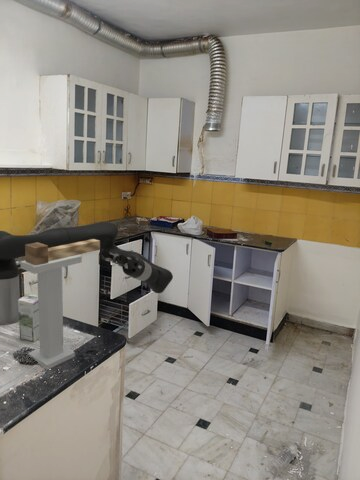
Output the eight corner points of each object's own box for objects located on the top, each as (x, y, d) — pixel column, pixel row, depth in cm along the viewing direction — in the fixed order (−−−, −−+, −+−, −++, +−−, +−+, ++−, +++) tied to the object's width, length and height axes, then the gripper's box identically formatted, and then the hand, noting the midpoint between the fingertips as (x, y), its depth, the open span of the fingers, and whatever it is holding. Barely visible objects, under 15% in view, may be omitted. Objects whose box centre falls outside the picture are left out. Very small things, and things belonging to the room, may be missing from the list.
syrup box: (44, 334, 133) (43, 295, 129) (33, 342, 127) (32, 302, 124) (30, 331, 134) (28, 293, 131) (19, 339, 129) (17, 299, 125)
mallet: (91, 247, 127) (91, 232, 126) (101, 250, 125) (102, 235, 123) (25, 261, 109) (25, 244, 108) (35, 265, 106) (35, 248, 105)
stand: (66, 341, 129) (64, 250, 122) (85, 351, 124) (84, 257, 116) (22, 359, 117) (17, 260, 109) (41, 372, 111) (37, 268, 104)
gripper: (147, 282, 138) (120, 269, 126) (120, 273, 147) (91, 259, 134) (155, 263, 140) (129, 248, 127) (127, 255, 148) (100, 240, 135)
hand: (109, 254), depth 130 cm, fingers open, 8 cm apart
